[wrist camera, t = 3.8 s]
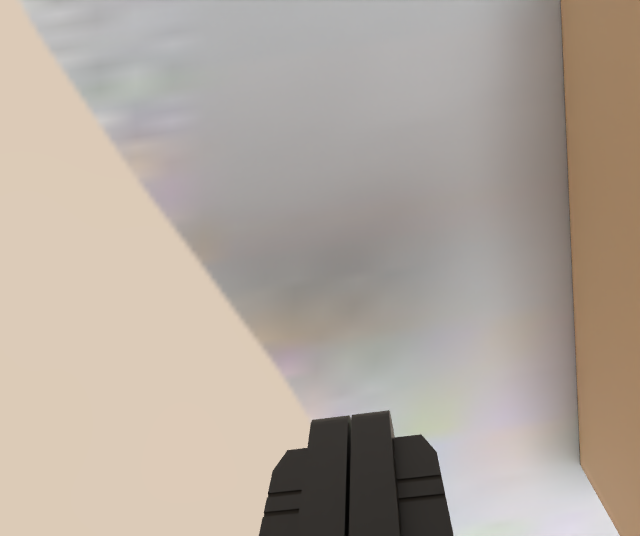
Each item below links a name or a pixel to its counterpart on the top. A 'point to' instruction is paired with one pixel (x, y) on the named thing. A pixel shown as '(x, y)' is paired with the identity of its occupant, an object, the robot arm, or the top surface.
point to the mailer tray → (606, 243)
